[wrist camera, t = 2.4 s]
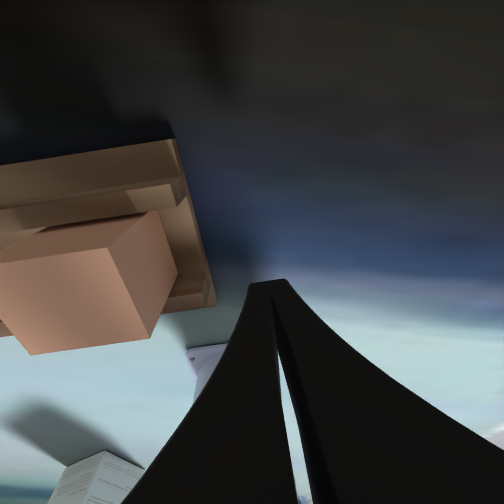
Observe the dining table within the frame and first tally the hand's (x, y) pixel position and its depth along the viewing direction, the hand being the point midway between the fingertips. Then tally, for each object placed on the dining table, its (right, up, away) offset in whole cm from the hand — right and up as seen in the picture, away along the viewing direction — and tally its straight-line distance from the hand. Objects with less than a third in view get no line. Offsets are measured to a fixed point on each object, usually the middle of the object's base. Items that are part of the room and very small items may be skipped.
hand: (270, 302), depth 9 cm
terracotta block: (-9, +2, +7) cm, 12 cm away
